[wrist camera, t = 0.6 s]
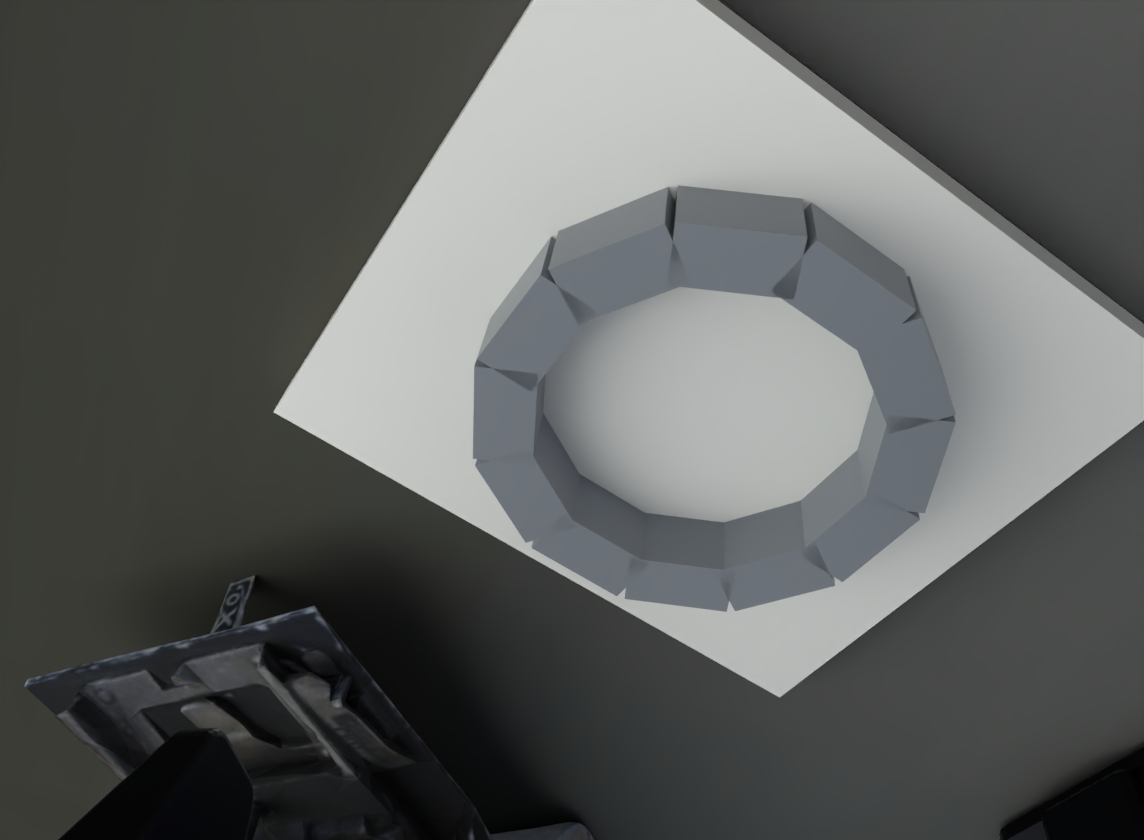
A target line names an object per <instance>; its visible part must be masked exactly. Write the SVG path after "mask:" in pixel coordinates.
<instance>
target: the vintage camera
mask: <svg viewBox="0 0 1144 840" xmlns="http://www.w3.org/2000/svg"><path fill="white" fill-rule="evenodd" d="M254 580H255V575H254V576H250V577H246V578H243V579H239V580H236V581H232V582H230V584H229V587H228V589H227V592H226V594H225V597H224V600H223V602H222V605H221V608H220V610H219V613H218V615H217V618H216V620H215V622H214V624H213V627H212V629H211V631H210V633H209V634H207V635H203V636H199V637H195V638H191V639H186V640H182V641H178V642H174V643H169V644H165V645H161V646H156V647H152V648H148V649H144V650H140V651H136V652H132V653H128V654H124V655H120V656H116V657H112V658H107V659H103V660H99V661H95V662H91V663H87V664H83V665H79V666H75V667H71V668H67V669H64V670H60V671H56V672H52V673H49V674H45V675H41V676H38V677H34V678H30V679H27V681H26V684H25V687H26V688H27V689H28V690H29V691H30V692H31V693H32V694H33V695H35V696H36V697H37V698H38V699H39V700H40V701H41V702H42V703H43V704H44V705H45V706H46V707H48V708H49V709H50V710H51V711H52V712H53V713H54V714H55V715H56V716H55V717H56V718H57V719H58V720H59V721H60V722H61V723H62V724H63V725H64V726H66V727H67V728H68V729H69V730H70V731H71V732H72V733H73V734H74V735H75V736H76V737H77V738H78V739H79V740H80V741H81V742H82V743H83V744H84V745H85V746H86V747H87V748H88V749H89V750H90V751H91V752H92V753H93V754H94V755H95V756H96V757H97V758H98V759H99V760H100V761H101V762H102V763H104V764H105V765H106V766H107V767H108V768H109V769H110V770H111V771H112V772H113V773H114V774H115V775H116V776H117V777H118V778H119V779H120V780H121V781H123V780H124V779H125V778H126V777H127V776H128V775H129V774H130V773H131V772H132V771H134V770H135V769H136V768H137V767H138V766H139V765H140V764H141V763H142V762H143V761H144V760H146V759H147V758H148V757H149V756H150V755H151V754H152V753H153V752H154V751H155V750H156V749H158V748H159V747H160V746H161V745H162V744H163V743H164V742H165V741H166V740H167V739H168V738H170V737H171V736H172V735H173V734H175V733H176V732H178V731H181V730H184V729H199V728H216V729H219V730H221V731H223V732H224V733H225V734H226V735H227V737H228V739H229V740H230V742H231V744H232V746H233V748H234V749H235V751H236V753H237V755H238V757H239V759H240V760H241V762H242V764H243V766H244V768H245V769H246V771H247V773H248V775H249V777H250V779H251V782H252V786H253V793H254V799H253V808H252V813H251V818H250V823H249V827H248V832H247V837H246V840H594V838H593V837H592V835H591V833H590V832H589V830H588V829H587V828H586V827H585V826H584V825H582V824H580V823H572V822H567V823H561V824H555V825H549V826H544V827H538V828H532V829H524V830H517V831H510V832H503V833H496V834H490V833H489V832H488V830H487V828H486V826H485V825H484V823H483V821H482V819H481V817H480V815H479V813H478V812H477V810H476V808H475V806H474V805H473V804H472V802H471V801H470V800H469V798H468V797H467V796H466V794H465V793H464V792H463V791H462V789H461V788H460V787H459V786H458V784H457V783H456V782H455V781H454V779H453V778H452V777H451V776H450V775H449V773H448V772H447V771H446V770H445V768H444V767H443V766H442V764H441V763H440V762H439V761H438V759H437V758H436V757H435V756H434V754H433V753H432V752H431V750H430V749H429V748H428V747H427V745H426V744H425V743H424V742H423V740H422V739H421V738H420V737H419V736H418V735H417V733H416V732H415V731H414V730H413V729H412V728H411V726H410V725H409V724H408V722H407V721H406V720H405V719H404V717H403V716H402V715H401V714H400V712H399V711H398V710H397V708H396V707H395V706H394V705H393V703H392V702H391V701H390V700H389V698H388V697H387V696H386V695H385V693H384V692H383V691H382V690H381V688H380V687H379V686H378V685H377V683H376V682H375V681H374V680H373V678H372V677H371V676H370V675H369V673H368V672H367V671H366V670H365V668H364V667H363V666H362V665H361V663H360V662H359V661H358V660H357V658H356V657H355V656H354V655H353V653H352V652H351V651H350V650H349V649H348V647H347V646H346V645H345V644H344V642H343V641H342V640H341V639H340V637H339V636H338V635H337V633H336V632H335V631H334V630H333V628H332V627H331V626H330V625H329V623H328V622H327V621H326V620H325V618H324V617H323V616H322V615H321V613H320V612H319V611H318V610H317V608H316V607H315V606H311V607H307V608H304V609H300V610H297V611H293V612H289V613H286V614H282V615H279V616H275V617H272V618H268V619H264V620H261V621H257V622H254V623H250V624H246V625H242V626H241V623H242V620H243V613H244V606H245V604H246V603H247V601H248V599H249V597H250V595H251V594H252V592H253V587H254Z"/></svg>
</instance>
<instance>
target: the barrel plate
mask: <svg viewBox="0 0 1144 840" xmlns="http://www.w3.org/2000/svg"><path fill="white" fill-rule="evenodd" d="M274 413H276V414H278V415H280V416H281V417H283V418H285V419H287V420H288V421H290V422H292V423H294V424H296V425H297V426H299V427H301V428H303V429H304V430H306V431H308V432H310V433H311V434H313V435H315V436H317V437H319V438H320V439H322V440H324V441H326V442H327V443H329V444H331V445H333V446H335V447H336V448H338V449H340V450H342V451H343V452H345V453H347V454H349V455H351V456H352V457H354V458H356V459H358V460H359V461H361V462H363V463H365V464H366V465H368V466H370V467H372V468H374V469H375V470H377V471H379V472H381V473H382V474H384V475H386V476H388V477H390V478H391V479H393V480H395V481H397V482H398V483H400V484H402V485H404V486H405V487H407V488H409V489H411V490H413V491H414V492H416V493H418V494H420V495H421V496H423V497H425V498H427V499H429V500H430V501H432V502H434V503H436V504H437V505H439V506H441V507H443V508H444V509H446V510H448V511H450V512H452V513H453V514H455V515H457V516H459V517H460V518H462V519H464V520H466V521H468V522H469V523H471V524H473V525H475V526H476V527H478V528H480V529H482V530H483V531H485V532H487V533H489V534H491V535H492V536H494V537H496V538H498V539H499V540H501V541H503V542H505V543H507V544H508V545H510V546H512V547H514V548H515V549H517V550H519V551H521V552H523V553H524V554H526V555H528V556H530V557H531V558H533V559H535V560H537V561H538V562H540V563H542V564H544V565H546V566H547V567H549V568H551V569H553V570H554V571H556V572H558V573H560V574H562V575H563V576H565V577H567V578H569V579H570V580H572V581H574V582H576V583H577V584H579V585H581V586H583V587H585V588H586V589H588V590H590V591H592V592H593V593H595V594H597V595H599V596H601V597H602V598H604V599H606V600H608V601H609V602H611V603H613V604H615V605H616V606H618V607H620V608H622V609H624V610H625V611H627V612H629V613H631V614H632V615H634V616H636V617H638V618H640V619H641V620H643V621H645V622H647V623H648V624H650V625H652V626H654V627H655V628H657V629H659V630H661V631H663V632H664V633H666V634H668V635H670V636H671V637H673V638H675V639H677V640H679V641H680V642H682V643H684V644H686V645H687V646H689V647H691V648H693V649H695V650H696V651H698V652H700V653H702V654H703V655H705V656H707V657H709V658H710V659H712V660H714V661H716V662H718V663H719V664H721V665H723V666H725V667H726V668H728V669H730V670H732V671H734V672H735V673H737V674H739V675H741V676H742V677H744V678H746V679H748V680H749V681H751V682H753V683H755V684H757V685H758V686H760V687H762V688H764V689H765V690H767V691H769V692H771V693H773V694H774V695H776V696H778V697H781V696H782V695H784V694H785V693H786V692H787V691H789V690H790V689H791V688H793V687H794V686H795V685H797V684H798V683H799V682H801V681H802V680H803V679H805V678H806V677H807V676H808V675H810V674H811V673H812V672H814V671H815V670H816V669H818V668H819V667H820V666H822V665H823V664H824V663H826V662H827V661H828V660H830V659H831V658H832V657H833V656H835V655H836V654H837V653H839V652H840V651H841V650H843V649H844V648H845V647H847V646H848V645H849V644H851V643H852V642H853V641H854V640H856V639H857V638H858V637H860V636H861V635H862V634H864V633H865V632H866V631H868V630H869V629H870V628H872V627H873V626H874V625H876V624H877V623H878V622H879V621H881V620H882V619H883V618H885V617H886V616H887V615H889V614H890V613H891V612H893V611H894V610H895V609H897V608H898V607H899V606H900V605H902V604H903V603H904V602H906V601H907V600H908V599H910V598H911V597H912V596H914V595H915V594H916V593H918V592H919V591H920V590H922V589H923V588H924V587H925V586H927V585H928V584H929V583H931V582H932V581H933V580H935V579H936V578H937V577H939V576H940V575H941V574H943V573H944V572H945V571H946V570H948V569H949V568H950V567H952V566H953V565H954V564H956V563H957V562H958V561H960V560H961V559H962V558H964V557H965V556H966V555H968V554H969V553H970V552H971V551H973V550H974V549H975V548H977V547H978V546H979V545H981V544H982V543H983V542H985V541H986V540H987V539H989V538H990V537H991V536H992V535H994V534H995V533H996V532H998V531H999V530H1000V529H1002V528H1003V527H1004V526H1006V525H1007V524H1008V523H1010V522H1011V521H1012V520H1014V519H1015V518H1016V517H1017V516H1019V515H1020V514H1021V513H1023V512H1024V511H1025V510H1027V509H1028V508H1029V507H1031V506H1032V505H1033V504H1035V503H1036V502H1037V501H1038V500H1040V499H1041V498H1042V497H1044V496H1045V495H1046V494H1048V493H1049V492H1050V491H1052V490H1053V489H1054V488H1056V487H1057V486H1058V485H1060V484H1061V483H1062V482H1063V481H1065V480H1066V479H1067V478H1069V477H1070V476H1071V475H1073V474H1074V473H1075V472H1077V471H1078V470H1079V469H1081V468H1082V467H1083V466H1084V465H1086V464H1087V463H1088V462H1090V461H1091V460H1092V459H1094V458H1095V457H1096V456H1098V455H1099V454H1100V453H1102V452H1103V451H1104V450H1106V449H1107V448H1108V447H1109V446H1111V445H1112V444H1113V443H1115V442H1116V441H1117V440H1119V439H1120V438H1121V437H1123V436H1124V435H1125V434H1127V433H1128V432H1129V431H1130V430H1132V429H1133V428H1134V427H1136V426H1137V425H1138V424H1140V423H1141V422H1142V421H1144V324H1143V323H1142V322H1141V321H1139V320H1138V319H1137V318H1135V317H1134V316H1133V315H1132V314H1130V313H1129V312H1128V311H1126V310H1125V309H1124V308H1122V307H1121V306H1120V305H1118V304H1117V303H1116V302H1114V301H1113V300H1112V299H1110V298H1109V297H1108V296H1107V295H1105V294H1104V293H1103V292H1101V291H1100V290H1099V289H1097V288H1096V287H1095V286H1093V285H1092V284H1091V283H1089V282H1088V281H1087V280H1085V279H1084V278H1083V277H1082V276H1080V275H1079V274H1078V273H1076V272H1075V271H1074V270H1072V269H1071V268H1070V267H1068V266H1067V265H1066V264H1064V263H1063V262H1062V261H1060V260H1059V259H1058V258H1057V257H1055V256H1054V255H1053V254H1051V253H1050V252H1049V251H1047V250H1046V249H1045V248H1043V247H1042V246H1041V245H1039V244H1038V243H1037V242H1035V241H1034V240H1033V239H1032V238H1030V237H1029V236H1028V235H1026V234H1025V233H1024V232H1022V231H1021V230H1020V229H1018V228H1017V227H1016V226H1014V225H1013V224H1012V223H1010V222H1009V221H1008V220H1007V219H1005V218H1004V217H1003V216H1001V215H1000V214H999V213H997V212H996V211H995V210H993V209H992V208H991V207H989V206H988V205H987V204H985V203H984V202H983V201H982V200H980V199H979V198H978V197H976V196H975V195H974V194H972V193H971V192H970V191H968V190H967V189H966V188H964V187H963V186H962V185H960V184H959V183H958V182H957V181H955V180H954V179H953V178H951V177H950V176H949V175H947V174H946V173H945V172H943V171H942V170H941V169H939V168H938V167H937V166H935V165H934V164H933V163H932V162H930V161H929V160H928V159H926V158H925V157H924V156H922V155H921V154H920V153H918V152H917V151H916V150H914V149H913V148H912V147H910V146H909V145H908V144H907V143H905V142H904V141H903V140H901V139H900V138H899V137H897V136H896V135H895V134H893V133H892V132H891V131H889V130H888V129H887V128H885V127H884V126H883V125H882V124H880V123H879V122H878V121H876V120H875V119H874V118H872V117H871V116H870V115H868V114H867V113H866V112H864V111H863V110H862V109H860V108H859V107H858V106H857V105H855V104H854V103H853V102H851V101H850V100H849V99H847V98H846V97H845V96H843V95H842V94H841V93H839V92H838V91H837V90H835V89H834V88H833V87H832V86H830V85H829V84H828V83H826V82H825V81H824V80H822V79H821V78H820V77H818V76H817V75H816V74H814V73H813V72H812V71H810V70H809V69H808V68H807V67H805V66H804V65H803V64H801V63H800V62H799V61H797V60H796V59H795V58H793V57H792V56H791V55H789V54H788V53H787V52H785V51H784V50H783V49H782V48H780V47H779V46H778V45H776V44H775V43H774V42H772V41H771V40H770V39H768V38H767V37H766V36H764V35H763V34H762V33H760V32H759V31H758V30H757V29H755V28H754V27H753V26H751V25H750V24H749V23H747V22H746V21H745V20H743V19H742V18H741V17H739V16H738V15H737V14H735V13H734V12H733V11H732V10H730V9H729V8H728V7H726V6H725V5H724V4H722V3H721V2H720V1H718V0H531V2H530V4H529V5H528V7H527V8H526V10H525V11H524V13H523V15H522V16H521V18H520V19H519V21H518V23H517V24H516V26H515V27H514V29H513V31H512V32H511V34H510V35H509V37H508V38H507V40H506V42H505V43H504V45H503V46H502V48H501V50H500V51H499V53H498V54H497V56H496V57H495V59H494V61H493V62H492V64H491V65H490V67H489V69H488V70H487V72H486V73H485V75H484V77H483V78H482V80H481V81H480V83H479V84H478V86H477V88H476V89H475V91H474V92H473V94H472V96H471V97H470V99H469V100H468V102H467V103H466V105H465V107H464V108H463V110H462V111H461V113H460V115H459V116H458V118H457V119H456V121H455V123H454V124H453V126H452V127H451V129H450V130H449V132H448V134H447V135H446V137H445V138H444V140H443V142H442V143H441V145H440V146H439V148H438V149H437V151H436V153H435V154H434V156H433V157H432V159H431V161H430V162H429V164H428V165H427V167H426V169H425V170H424V172H423V173H422V175H421V176H420V178H419V180H418V181H417V183H416V184H415V186H414V188H413V189H412V191H411V192H410V194H409V195H408V197H407V199H406V200H405V202H404V203H403V205H402V207H401V208H400V210H399V211H398V213H397V215H396V216H395V218H394V219H393V221H392V222H391V224H390V226H389V227H388V229H387V230H386V232H385V234H384V235H383V237H382V238H381V240H380V241H379V243H378V245H377V246H376V248H375V249H374V251H373V253H372V254H371V256H370V257H369V259H368V261H367V262H366V264H365V265H364V267H363V268H362V270H361V272H360V273H359V275H358V276H357V278H356V280H355V281H354V283H353V284H352V286H351V287H350V289H349V291H348V292H347V294H346V295H345V297H344V299H343V300H342V302H341V303H340V305H339V306H338V308H337V310H336V311H335V313H334V314H333V316H332V318H331V319H330V321H329V322H328V324H327V326H326V327H325V329H324V330H323V332H322V333H321V335H320V337H319V338H318V340H317V341H316V343H315V345H314V346H313V348H312V349H311V351H310V352H309V354H308V356H307V357H306V359H305V360H304V362H303V364H302V365H301V367H300V368H299V370H298V372H297V373H296V375H295V376H294V378H293V379H292V381H291V383H290V384H289V386H288V388H287V389H286V391H285V393H284V395H283V396H282V398H281V400H280V401H279V403H278V405H277V407H276V408H275V410H274Z"/></svg>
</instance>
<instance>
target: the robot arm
mask: <svg viewBox="0 0 1144 840" xmlns="http://www.w3.org/2000/svg"><path fill="white" fill-rule="evenodd" d="M253 799H254V793H253V786H252V782H251V779H250V777H249V775H248V773H247V771H246V769H245V768H244V766H243V764H242V762H241V760H240V759H239V757H238V755H237V753H236V751H235V749H234V748H233V746H232V744H231V742H230V740H229V739H228V737H227V735H226V734H225V733H224V732H223V731H221V730H219V729H216V728H199V729H184V730H181V731H178V732H176V733H175V734H173V735H172V736H171V737H170V738H168V739H167V740H166V741H165V742H164V743H163V744H162V745H161V746H160V747H159V748H158V749H156V750H155V751H154V752H153V753H152V754H151V755H150V756H149V757H148V758H147V759H146V760H144V761H143V762H142V763H141V764H140V765H139V766H138V767H137V768H136V769H135V770H134V771H132V772H131V773H130V774H129V775H128V776H127V777H126V778H125V779H124V780H123V781H122V782H121V783H119V784H118V785H117V786H116V787H115V788H114V789H113V790H112V791H111V792H110V793H109V794H107V795H106V796H105V797H104V798H103V799H102V800H101V801H100V802H99V803H98V804H97V805H95V806H94V807H93V808H92V809H91V810H90V811H89V812H88V813H87V814H86V815H85V816H83V817H82V818H81V819H80V820H79V821H78V822H77V823H76V824H75V825H74V826H73V827H72V828H70V829H69V830H68V831H67V832H66V833H65V834H64V835H63V836H62V837H61V838H60V839H58V840H246V837H247V832H248V827H249V823H250V818H251V813H252V808H253ZM999 835H1000V839H1001V840H1144V748H1142V749H1141V750H1139V751H1137V752H1135V753H1134V754H1132V755H1130V756H1128V757H1126V758H1125V759H1123V760H1121V761H1119V762H1118V763H1116V764H1114V765H1112V766H1111V767H1109V768H1107V769H1105V770H1104V771H1102V772H1100V773H1098V774H1096V775H1095V776H1093V777H1091V778H1089V779H1088V780H1086V781H1084V782H1082V783H1081V784H1079V785H1077V786H1075V787H1074V788H1072V789H1070V790H1068V791H1066V792H1065V793H1063V794H1061V795H1059V796H1058V797H1056V798H1054V799H1052V800H1051V801H1049V802H1047V803H1045V804H1044V805H1042V806H1040V807H1038V808H1036V809H1035V810H1033V811H1031V812H1029V813H1028V814H1026V815H1024V816H1022V817H1021V818H1019V819H1017V820H1015V821H1014V822H1012V823H1010V824H1008V825H1006V826H1005V827H1004V828H1002V829H1001V831H1000V833H999Z"/></svg>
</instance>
